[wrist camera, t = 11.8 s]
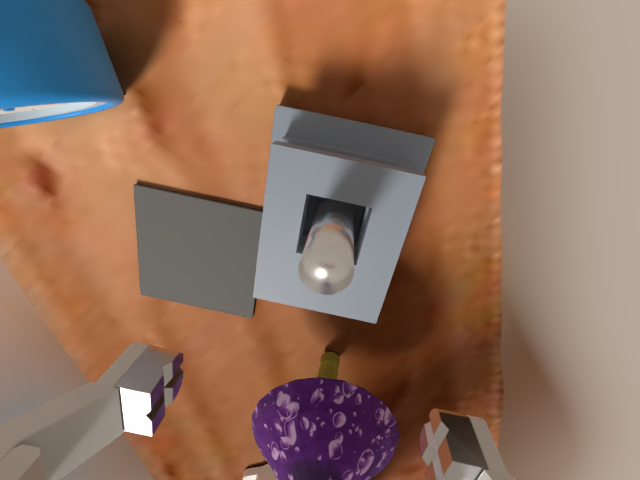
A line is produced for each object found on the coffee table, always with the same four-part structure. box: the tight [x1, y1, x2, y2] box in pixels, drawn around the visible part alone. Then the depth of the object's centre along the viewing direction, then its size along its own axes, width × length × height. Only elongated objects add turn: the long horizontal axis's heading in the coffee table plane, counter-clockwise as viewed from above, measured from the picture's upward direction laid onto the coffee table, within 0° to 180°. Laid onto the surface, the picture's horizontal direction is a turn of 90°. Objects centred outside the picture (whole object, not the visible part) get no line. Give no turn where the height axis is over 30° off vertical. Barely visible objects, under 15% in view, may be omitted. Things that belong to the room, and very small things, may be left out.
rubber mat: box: [134, 184, 263, 318], centre depth 30 cm, size 12×12×1 cm
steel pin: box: [298, 198, 354, 295], centre depth 21 cm, size 3×3×10 cm
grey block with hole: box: [253, 105, 435, 324], centre depth 24 cm, size 14×12×6 cm
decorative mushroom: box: [252, 352, 399, 480], centre depth 28 cm, size 12×12×15 cm
